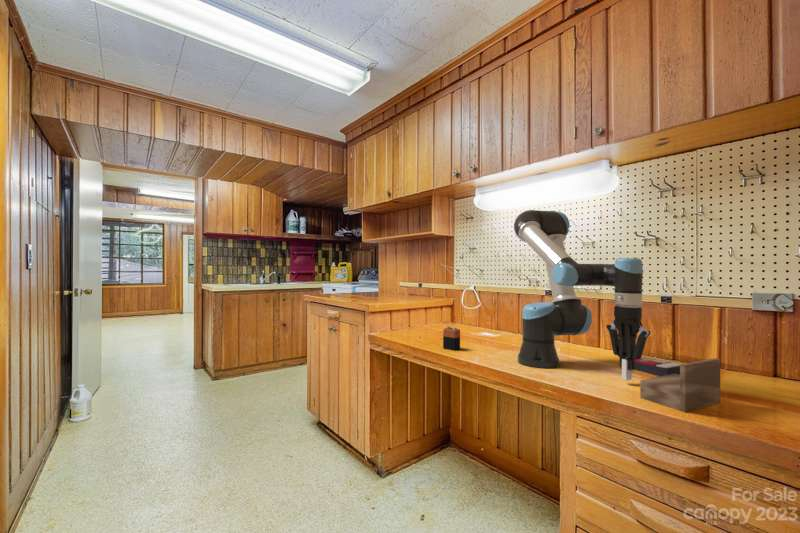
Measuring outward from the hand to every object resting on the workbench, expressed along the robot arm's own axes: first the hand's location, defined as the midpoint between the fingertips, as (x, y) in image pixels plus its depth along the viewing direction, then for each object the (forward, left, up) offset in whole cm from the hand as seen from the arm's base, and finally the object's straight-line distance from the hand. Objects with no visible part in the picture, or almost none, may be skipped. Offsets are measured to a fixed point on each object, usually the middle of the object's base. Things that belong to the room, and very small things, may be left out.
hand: (626, 379), depth 114 cm
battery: (-64, -25, -2) cm, 69 cm away
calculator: (-5, +24, -2) cm, 25 cm away
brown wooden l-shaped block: (+15, 0, -2) cm, 15 cm away
